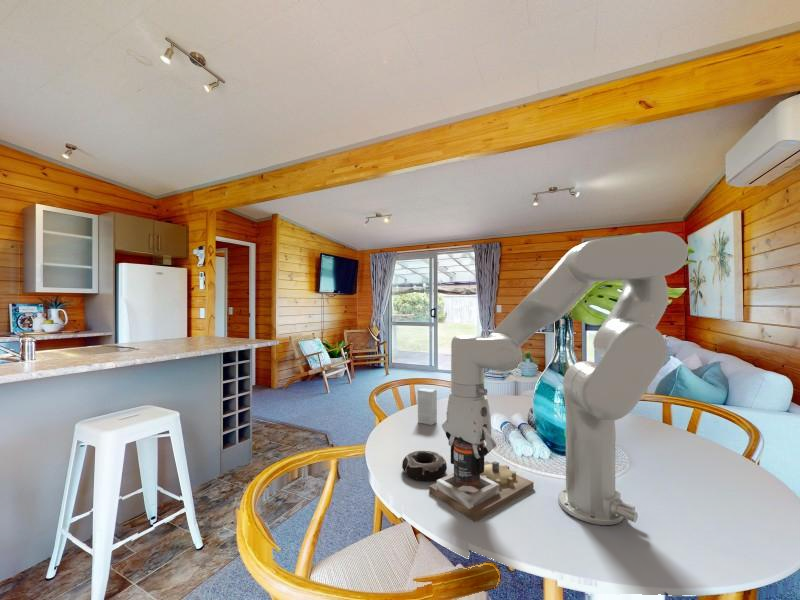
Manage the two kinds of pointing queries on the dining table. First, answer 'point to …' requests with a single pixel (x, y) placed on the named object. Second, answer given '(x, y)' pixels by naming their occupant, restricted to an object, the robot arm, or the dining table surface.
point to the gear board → (482, 491)
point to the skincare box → (427, 406)
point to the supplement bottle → (464, 463)
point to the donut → (424, 465)
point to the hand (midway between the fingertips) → (466, 467)
